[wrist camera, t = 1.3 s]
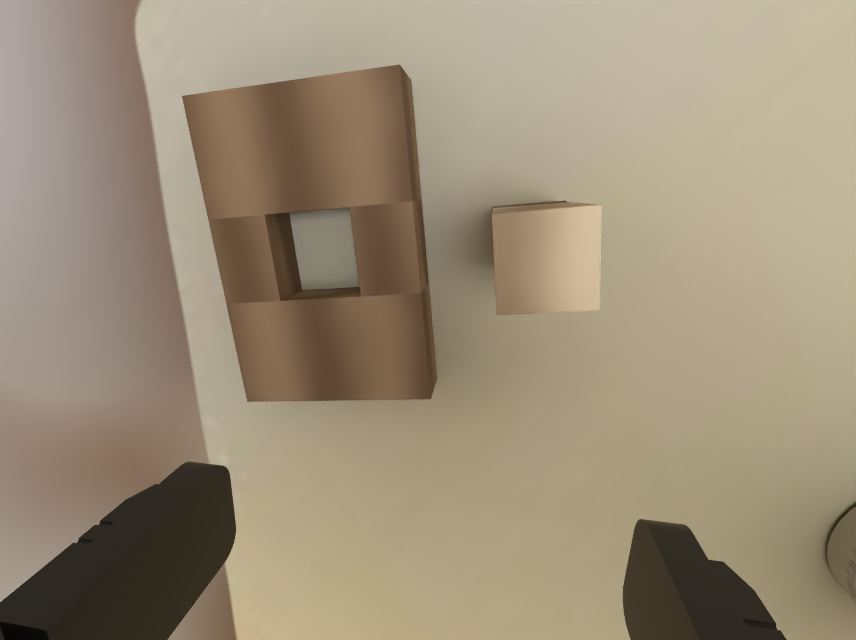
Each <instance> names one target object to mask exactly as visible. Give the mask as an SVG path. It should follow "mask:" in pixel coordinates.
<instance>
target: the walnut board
mask: <svg viewBox="0 0 856 640" xmlns="http://www.w3.org/2000/svg"><path fill="white" fill-rule="evenodd" d="M182 98H183V103H184V108H185V112H186V117H187V122H188V126H189V131H190V136H191V140H192V145H193V150H194V154H195V159H196V164H197V168H198V173H199V178H200V182H201V187H202V192H203V196H204V201H205V206H206V210H207V215H208V220H209V224H210V229H211V234H212V238H213V243H214V248H215V252H216V257H217V262H218V266H219V271H220V276H221V280H222V285H223V290H224V294H225V299H226V304H227V308H228V313H229V318H230V322H231V327H232V332H233V336H234V341H235V346H236V350H237V355H238V360H239V364H240V369H241V374H242V378H243V383H244V388H245V392H246V397H247V402H254V401H328V400H402V399H431V397H432V393H433V390H434V387H435V384H436V381H437V373H436V361H435V350H434V339H433V327H432V316H431V304H430V293H429V281H428V270H427V258H426V247H425V235H424V224H423V212H422V201H421V189H420V178H419V166H418V155H417V143H416V132H415V120H414V109H413V97H412V86H411V79H410V78H409V77H408V75H407V74H406V73H405V71H404V70H403V68H402V67H401V66H400V65H394V66H387V67H380V68H373V69H366V70H359V71H353V72H346V73H339V74H332V75H325V76H318V77H311V78H304V79H297V80H290V81H283V82H276V83H269V84H262V85H255V86H248V87H241V88H234V89H227V90H221V91H214V92H207V93H200V94H193V95H186V96H182ZM346 207H349V208H350V215H351V223H352V231H353V238H354V246H355V254H356V262H357V269H358V277H359V285H360V287H353V288H336V289H319V290H301V284H300V278H299V272H298V266H297V260H296V254H295V248H294V242H293V236H292V230H291V224H290V218H289V213H291V212H302V211H313V210H324V209H335V208H346Z"/></svg>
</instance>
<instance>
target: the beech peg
mask: <svg viewBox="0 0 856 640" xmlns="http://www.w3.org/2000/svg"><path fill="white" fill-rule="evenodd" d="M601 219H602V205H595V204H583V203H572V202H566V201H554V202H542V203H530V204H519V205H507V206H495V207H492V230H493V251H494V273H495V295H496V315H508V314H530V313H552V312H575V311H597V310H600V273H601Z"/></svg>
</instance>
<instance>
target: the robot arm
mask: <svg viewBox="0 0 856 640" xmlns="http://www.w3.org/2000/svg"><path fill="white" fill-rule="evenodd" d="M235 534H236V523H235V514H234V506H233V497H232V488H231V479H230V473H229V471H228V469H227V468H226V467H225V466H221V465H213V464H205V463H197V462H186V463H184V464H182V465H181V466H180V467H178V468H177V469H176V470H175V471H174V472H173V473H171V474H170V475H169V476H168V477H167V478H166V479H164V480H163V481H162V482H161V483H160V484H159V485H158V484H155V485H153V486H151V487H149V488H148V489H146V490H144V491H142V492H140V493H138V494H136V495H134V496H133V497H130V498H129V499H126V500H125V501H124V502H122V503H121V504H120V505H119V506H118V507H116V508H115V509H114V510H113V511H112V512H110V513H109V514H108V515H107V516H105V517H104V518H103V519H102V520H101V521H100V524H99V525H94V526H93V527H92V528H91V529H90V530H88V531H87V532H86V533H85V534H83V535H82V536H81V537H80V538H79V540H78V542H77V543H72V544H71V545H70V546H69V547H68V548H66V549H65V550H64V551H63V552H61V553H60V554H59V555H58V556H56V557H55V558H54V559H53V560H52V561H50V562H49V563H48V564H47V565H46V566H44V567H43V568H42V569H41V570H40V571H38V572H37V573H36V574H34V575H33V576H32V577H31V578H30V579H29V580H27V581H26V582H25V583H24V584H22V585H21V586H20V587H19V588H17V589H16V590H15V591H14V592H12V593H11V594H10V595H9V596H8V597H6V598H5V599H4V600H3V601H1V602H0V640H167V639H168V638H169V637H170V635H171V634H172V633H173V631H174V630H175V629H176V627H177V626H178V624H179V623H180V622H181V621H182V619H183V618H184V617H185V615H186V614H187V612H188V611H189V610H190V608H191V607H192V606H193V604H194V603H195V602H196V600H197V599H198V598H199V596H200V595H201V594H202V592H203V591H204V590H205V588H206V587H207V586H208V584H209V583H210V581H211V580H212V579H213V577H214V576H215V575H216V573H217V572H218V571H219V569H220V568H221V567H222V565H223V564H224V563H225V561H226V560H227V558H228V556H229V554H230V552H231V549H232V547H233V544H234V540H235ZM827 559H828V563H829V567H830V570H831V572H832V573H833V575H834V577H835V578H836V580H837V581H838V582H839V583H840V585H841V586H842V587H843V588H844V589H845V590H846V591H847V592H848V594H849V595H850V596H851V597H852V598H853V599H854V600H855V601H856V507H854V508H853V509H851V510H850V511H849V512H848V513H847V514H846V515H845V516H844V517H843V518H842V519H841V520H840V521H839V522H838V524H837V526H836V527H835V529H834V530H833V532H832V534H831V537H830V539H829V542H828V546H827ZM623 608H624V615H625V621H626V625H627V629H628V632H629V635H630V639H631V640H786V638H785V637H784V635H783V634H782V632H781V631H780V630H777V628H776V623H775V621H774V620H773V618H772V617H771V615H770V614H769V612H768V611H767V609H766V608H765V606H764V604H763V603H762V601H761V600H760V598H759V597H758V595H757V594H756V592H755V591H754V590H753V589H752V588H751V587H750V586H749V585H748V584H747V583H746V582H745V581H744V580H742V579H741V578H740V577H739V576H738V575H737V574H736V573H735V572H734V571H733V570H732V569H731V568H729V567H728V566H727V565H726V564H725V563H724V562H721V561H713V560H708V558H707V557H706V555H705V553H704V552H703V550H702V548H701V546H700V545H699V543H698V541H697V540H696V538H695V536H694V534H693V533H692V531H691V530H690V529H689V527H687V526H686V525H683V524H675V523H667V522H659V521H651V520H643V519H640V520H638V521H637V523H636V526H635V529H634V534H633V539H632V544H631V549H630V555H629V560H628V565H627V570H626V575H625V580H624V586H623Z"/></svg>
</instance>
